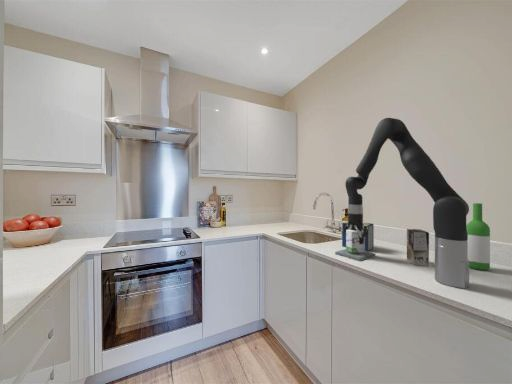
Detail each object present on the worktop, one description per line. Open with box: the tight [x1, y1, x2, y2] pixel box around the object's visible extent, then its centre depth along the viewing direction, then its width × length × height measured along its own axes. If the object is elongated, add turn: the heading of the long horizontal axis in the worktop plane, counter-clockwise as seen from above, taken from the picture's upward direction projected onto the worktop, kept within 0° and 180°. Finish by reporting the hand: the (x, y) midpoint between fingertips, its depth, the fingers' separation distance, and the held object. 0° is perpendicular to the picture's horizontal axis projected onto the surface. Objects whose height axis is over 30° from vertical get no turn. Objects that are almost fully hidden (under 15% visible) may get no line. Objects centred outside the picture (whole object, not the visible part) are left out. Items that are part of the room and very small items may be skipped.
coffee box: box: [406, 228, 430, 267], centre depth 101 cm, size 9×6×16 cm
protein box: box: [341, 221, 375, 252], centre depth 129 cm, size 10×15×16 cm
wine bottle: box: [466, 202, 491, 271], centre depth 95 cm, size 8×8×30 cm
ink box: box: [345, 229, 365, 253], centre depth 114 cm, size 8×5×12 cm, turn 103°
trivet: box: [334, 248, 376, 262], centre depth 114 cm, size 14×16×1 cm
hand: (355, 242), depth 114 cm, fingers closed on ink box, 6 cm apart
